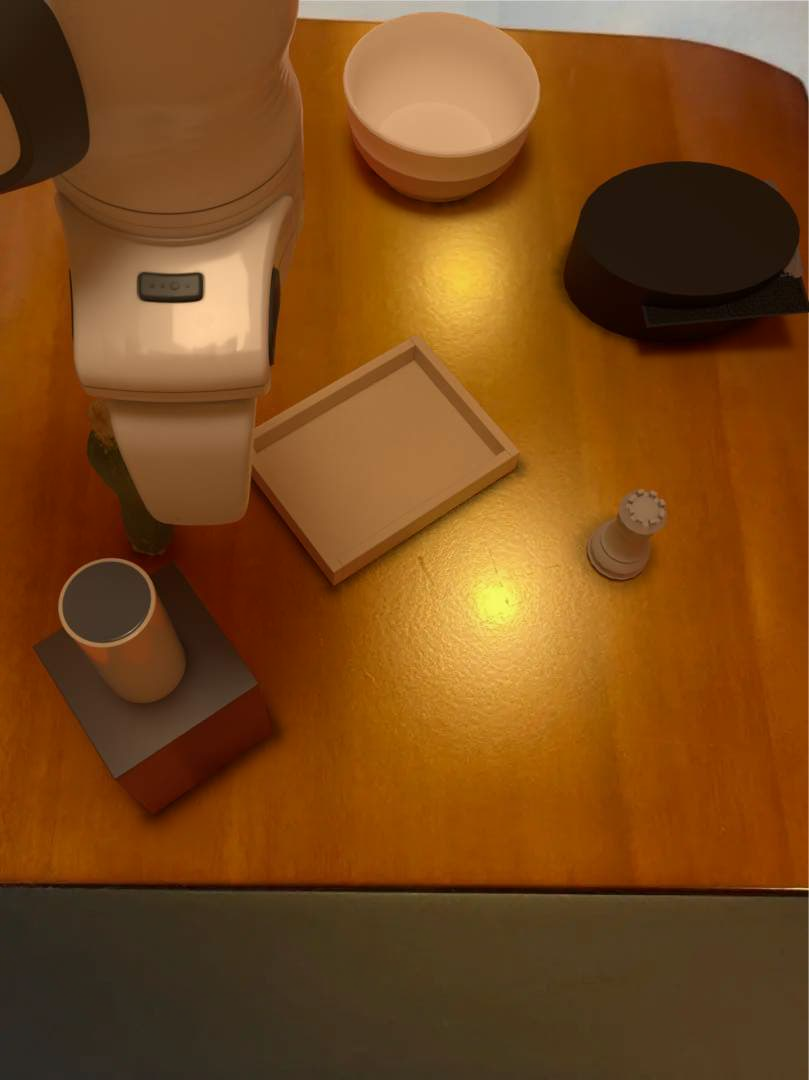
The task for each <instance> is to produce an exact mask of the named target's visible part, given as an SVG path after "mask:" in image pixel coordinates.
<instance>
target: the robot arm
mask: <svg viewBox="0 0 809 1080" xmlns="http://www.w3.org/2000/svg"><path fill="white" fill-rule="evenodd" d="M299 8H300V0H0V195H4V194H7V193H12V192H14V191H17V190H21V189H25V188H27V187H31V186H34V185H37V184H41V183H43V182H45V181H48V180H50V179H52V181H53V184H54V188H55V190H56V192H55V195H54V205H55V210H56V212H57V215H58V219H59V221H60V224H61V228H62V230H63V235H64V240H65V245H66V249H67V250H66V251H67V257H68V263H69V269H68V278H69V279H68V280H69V291H70V293H69V294H70V314H71V338H72V345H73V364H74V369H75V372H76V375H77V378H78V381H79V383H80V386H81V388H82V389H83V391H84V392H85V394H86V395H87V396H88V397H91V398H100V399H107V403H108V410H109V415H110V420H111V425H112V429H113V433H114V436H115V439H116V443H117V445H118V448H119V450H120V453H121V456H122V458H123V460H124V463H125V465H126V467H127V469H128V472H129V474H130V476H131V478H132V480H133V483H134V485H135V487H136V489H137V491H138V493H139V495H140V497H141V499H142V501H143V503H144V505H145V506H146V508H147V510H148V511H149V513H150V514H151V515H152V516H153V517H154V518H155V519H156V520H158V521H160V522H163V523H167V524H174V525H175V526H176V525H177V526H217V525H226V524H227V525H228V524H233V523H236V522H238V521H240V520H242V518H243V517H244V516H245V514H246V513H247V510H248V507H249V502H250V501H249V500H250V493H251V482H252V477H251V469H252V456H253V442H254V428H255V427H256V417H257V416H256V414H257V405H258V398H260V397H265V396H267V394H269V392H270V390H271V387H272V366H274V365H275V360H276V359H275V357H276V344H277V343H276V341H277V330H278V329H277V328H278V322H279V316H280V310H281V298H282V294H283V291H284V287H285V285H286V284H285V283H286V281H287V278H288V275H289V272H290V269H291V265H292V262H293V258H294V253H295V248H296V246H297V243H298V241H299V239H300V237H301V234H302V231H303V230H304V229H303V228H304V224H305V218H306V182H305V179H306V178H305V142H304V141H305V140H304V110H303V109H304V108H303V98H302V92H301V88H300V84H299V80H298V77H297V75H296V72H295V69H294V66H293V64H292V61H291V57H290V44H291V42H292V38H293V36H294V32H295V29H296V25H297V21H298V15H299Z"/></svg>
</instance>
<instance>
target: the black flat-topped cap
mask: <svg viewBox="0 0 809 1080" xmlns="http://www.w3.org/2000/svg"><path fill="white" fill-rule="evenodd" d="M800 234H801V227H800V224H799V218H798V216H797V214H796V212H795V211H794V208H793V207H792V205H791V203H790V202H789V201H788V200H787V199H786V198H785V197H784V195H782V193H780V189H779V187H778V185H776V183H775V181H774V179H765V180H763V179H760V178H758V177H755V176H754V175H752V174H751V173H748V172H744V171H742V170H738V169H736V168H733V167H730V166H725V165H720V164H716V163H713V162H712V163H711V162H704V161H702V162H701V161H691V160H679V161H676V160H675V161H674V160H673V161H662V162H656V163H655V162H654V163H648V164H644V165H641V166H637V167H634V168H630V169H627V170H625V171H623V172H621V173H618V174H616V175H613V176H611V177H610V178H609V179H607V180H606V181H605V182H603V183H602V184H600V185H598V186H597V187H596V189H595V190H593V191H592V192H591V194H590V195H589V196H588V197H587V198H586V200H585V202H584V204H583V206H582V208H581V210H580V213H579V216H578V220H577V222H576V227H575V230H574V233H573V236H572V240H571V243H570V247H569V250H568V254H567V256H566V260H565V265H564V270H563V280H564V281H563V282H564V287H565V290H566V292H567V294H568V297H569V299H570V301H571V302H572V303H573V304H574V306H575V307H576V308H577V309H578V311H579V312H580V313H582V314H583V315H584V316H585V317H586V318H588V319H589V320H591V321H592V322H593V323H595V324H596V325H599V326H601V328H603V329H606V330H608V331H609V332H612V333H615V334H617V335H621V336H623V337H626V338H629V339H635V340H638V341H644V342H649V343H650V342H651V343H661V344H680V343H683V344H684V343H685V344H686V343H693V342H700V341H705V340H710V339H713V338H716V337H719V336H723V335H725V334H727V333H730V332H732V331H733V330H735V329H738V328H739V327H741V326H744V324H746V323H747V322H748V321H749V320H751V319H756V318H766V317H776V316H777V317H779V316H789V315H798V314H809V297H808V293H807V290H806V288H805V283H804V281H803V278H802V277H803V276H804V275H805V274H804V273H805V272H804V268H803V264H802V257H801V251H800V247H799V243H800Z"/></svg>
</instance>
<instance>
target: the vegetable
mask: <svg viewBox="0 0 809 1080" xmlns="http://www.w3.org/2000/svg"><path fill="white" fill-rule="evenodd" d="M87 418H88V419H89V421H90V428H91V430H90V433H89V435H88V438H87V443H86V456H87V460H88V461H89V464H90V465H91V467H92V469H93V470H94V472H95V473H96V475H97V476H98V478H99V479H100V480H101V481H102V482H103V483H104V484H105V485H106V486H107V487H108V488H109V489H110V491H112V492H113V493H114V494H115V495H116V496H117V500H118V502H119V509H120V510H119V511H120V517H121V521H122V524H123V527H124V532H125V536H126V539H127V541H128V542H129V544H130V545H131V548H132V550H133V551H134V552H135V553H141V554H142V555H145V554H146V555H149V556H150V557H155V556H156V555H159V556H162V555H164V554H165V552H166V549H167V547H168V546H169V545H170V544H171V543H172V541H173V539H174V533H175V532H174V531H175V528H176V525H174V524H167V523H163V522H160V521H158V520H156V519H155V518H154V517H153V516H152V515H151V514H150V513H149V511H148V510H147V508H146V506H145V505H144V503H143V501H142V499H141V497H140V495H139V493H138V491H137V489H136V487H135V485H134V483H133V480H132V478H131V476H130V474H129V472H128V469H127V467H126V465H125V463H124V460H123V458H122V456H121V453H120V450H119V448H118V445H117V443H116V439H115V436H114V433H113V429H112V425H111V420H110V415H109V410H108V403H107V398H104V399H103V400H102V398H99V397H96V399H94V400H93V401H92V402H90V404H88V408H87Z"/></svg>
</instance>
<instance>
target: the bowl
mask: <svg viewBox="0 0 809 1080" xmlns="http://www.w3.org/2000/svg"><path fill="white" fill-rule="evenodd" d="M343 67H344V68H343V73H342V85H343V93H344V96H345V98H346V101H347V103H346V109H347V110H346V111H347V119H348V120H347V121H348V123H349V130H350V135H351V137H352V140H353V142H354V145H355V147H356V149H357V150H358V152H359V153H360V155H361V156H362V157H363V159H364V160H365V162H366V163H367V165H368V166H369V168H370V169H371V170H373V171H374V172H375V173H376V174H377V175H378V176H379V177H380V178H382V180H383V181H384V182H385V183H386V184H387V185H388V186H390V188H392V189H394V190H395V191H397V192H398V193H400V194H402V195H404V196H406V197H409V198H411V199H414V200H419V201H422V202H429V203H447V202H453V201H458V200H461V199H464V198H467V197H469V196H471V195H473V194H474V193H476V192H477V191H479V190H481V189H483V188H485V187H486V186H488V185H490V184H491V183H493V182H495V181H496V180H497V179H498V178H499V177H500V176H501V175H502V174H503V173H504V172H505V171H507V170H508V169H509V168H510V167H511V166H512V165H513V163H514V162H515V160H516V158H517V157H518V155H519V154H520V152H521V150H522V147H523V145H524V143H525V141H526V138H527V135H528V133H529V130H530V123H531V122H532V120H533V119H534V117H535V115H536V114H537V110H538V108H539V105H540V102H541V83H540V78H539V75H538V71H537V69H536V67H535V64H534V62H533V61H532V58H531V57H530V56H529V54H528V53H527V52H526V51H525V49H524V48H523V47H522V46H521V44H519V43H518V42H517V41H516V40H515V39H514V38H512V37H511V36H510V35H509V34H507V33H506V32H504V31H503V30H501V29H500V28H498V27H497V26H495V25H494V24H491V23H488V22H485V21H483V20H481V19H478V18H476V17H471V16H468V15H464V14H460V13H455V12H445V11H419V12H415V13H409V14H403V15H400V16H397V17H394V18H391V19H388V20H385V21H384V22H382V23H380V24H378V25H376V26H375V27H372V28H371V29H370V30H369V31H368V32H366V33H365V34H364V35H362V37H360V38H359V40H358V41H357V42H356V44H355V45H354V46H353V47H352V48H351V50H350V52H349V54H348V57H347V59H346V61H345V63H344V66H343Z"/></svg>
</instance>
